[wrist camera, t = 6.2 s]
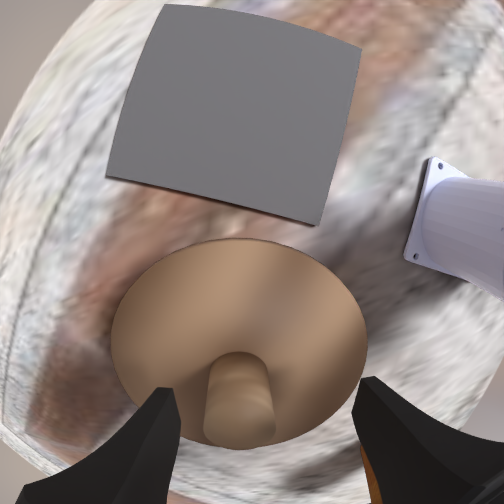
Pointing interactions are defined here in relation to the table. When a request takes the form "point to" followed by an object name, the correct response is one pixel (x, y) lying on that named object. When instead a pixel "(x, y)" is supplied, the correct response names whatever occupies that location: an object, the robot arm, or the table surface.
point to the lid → (241, 341)
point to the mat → (237, 110)
